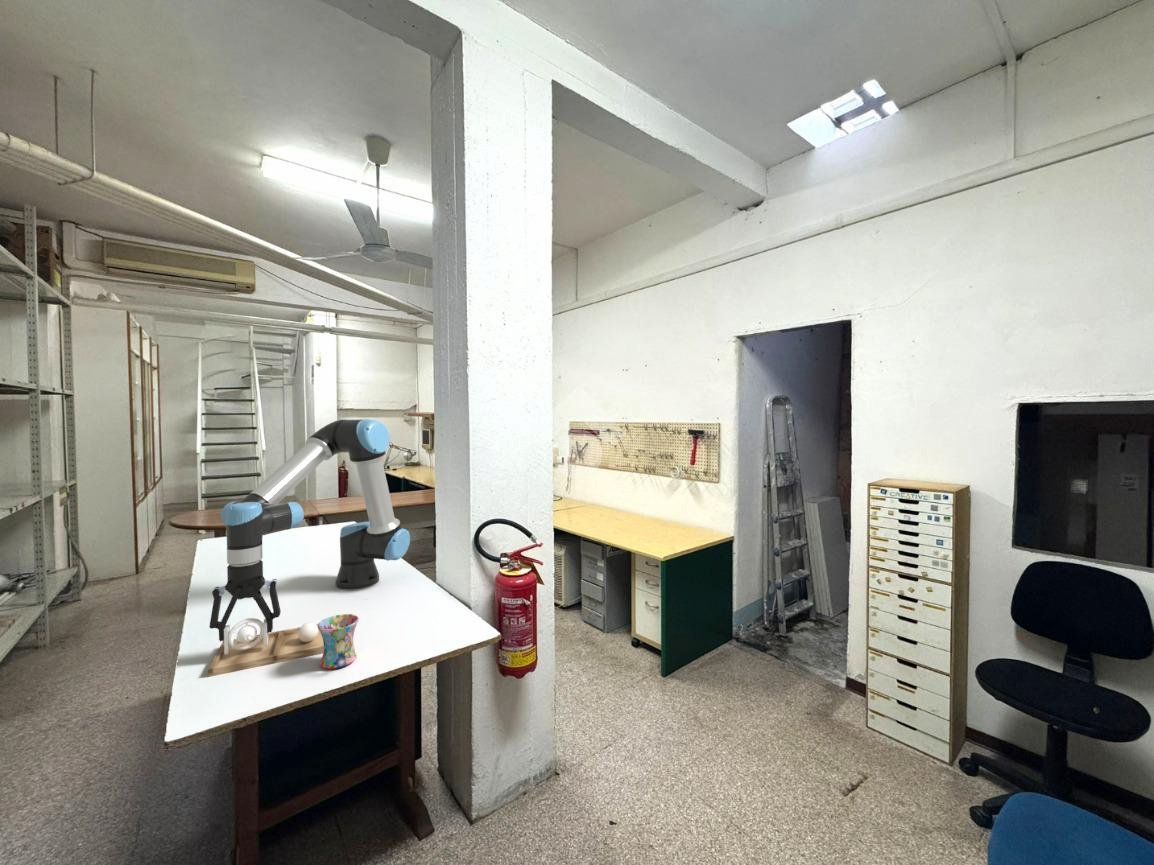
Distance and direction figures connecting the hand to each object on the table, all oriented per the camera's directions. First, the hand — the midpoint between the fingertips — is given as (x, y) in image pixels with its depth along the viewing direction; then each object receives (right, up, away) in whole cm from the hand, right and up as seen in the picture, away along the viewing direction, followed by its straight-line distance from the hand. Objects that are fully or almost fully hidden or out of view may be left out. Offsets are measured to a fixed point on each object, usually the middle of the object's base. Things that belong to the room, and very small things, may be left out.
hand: (247, 648), depth 119 cm
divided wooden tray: (+6, -2, +3) cm, 7 cm away
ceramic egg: (+12, -1, +6) cm, 14 cm away
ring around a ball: (+1, 0, -1) cm, 1 cm away
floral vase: (+27, -2, -4) cm, 27 cm away
